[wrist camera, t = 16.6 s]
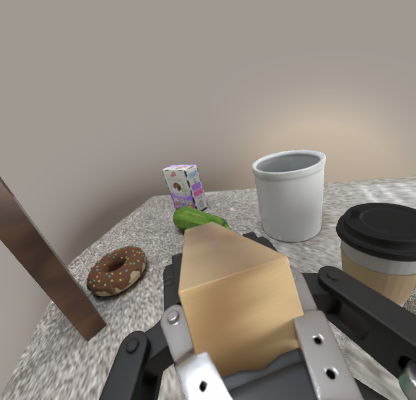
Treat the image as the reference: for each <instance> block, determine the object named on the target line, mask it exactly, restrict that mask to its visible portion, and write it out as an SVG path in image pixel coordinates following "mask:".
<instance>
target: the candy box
mask: <svg viewBox="0 0 416 400" xmlns="http://www.w3.org/2000/svg"><path fill="white" fill-rule="evenodd" d="M162 172H163V175H164V178H165V180H166V183H167V186H168V189H169V191H170V194H171V197H172V199H173V202H174V205H175V208H177V209H179V208H181V207H191V208H194V209H198V210H200V211H203V210H204V209H206V208H207V207H208V205H207V201H206V197H205V194H204V190H203V187H202V183H201V179H200V175H199V172H198V168H197V165H172V166H169V167H167V168H165V169H163V170H162Z"/></svg>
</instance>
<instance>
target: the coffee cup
mask: <svg viewBox="0 0 416 400" xmlns="http://www.w3.org/2000/svg"><path fill="white" fill-rule="evenodd" d="M336 232H337V234H338V236H339V237H340V238H341V257H342V268H343V272H345V273H347V274H348V275H350V276H352V277H353V278H355V279H357V280H358V281H360V282H362V283H363V284H365V285H367V286H368V287H370V288H372V289H373V290H375V291H376V292H378V293H380V294H381V295H383V296H385V297H386V298H388V299H390V300H391V301H393V302H395V303H396V304H398V305H400V306H401V307H403V305H404V304H405V302H406V301H407V300H408V299H409V298H410V296H411V294H412V293H413V291H414V289H415V287H416V209H413V208H410V207H406V206H402V205H397V204H389V203H366V204H360V205H356V206H354V207H351V208H350V209H348V210H347V211H346V212H345V214H344V215H343V216H341V217H340V219H339V220H338V224H337V226H336Z"/></svg>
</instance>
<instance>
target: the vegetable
mask: <svg viewBox="0 0 416 400" xmlns="http://www.w3.org/2000/svg"><path fill="white" fill-rule="evenodd" d="M173 220H174V224H175V225H176V226H177V227H178V228H179V229H181V230H184V231H185V230H186V229H189V228H193V227H196V226H199V225H203V224H206V223H210V222H214V223H216V224H219V225H221V226H223V227H225V228H227V229H229V230H231V229H230V228H229V226H228V224H227V222H226V221H225V220H224V219H222V218H220V217H217V216H214V215H211V214H208V213H205V212H203V211H200V210H198V209H194V208H191V207H181V208H179V209H177V210H176V211H175V212H174V216H173Z"/></svg>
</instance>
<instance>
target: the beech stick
mask: <svg viewBox="0 0 416 400" xmlns="http://www.w3.org/2000/svg"><path fill="white" fill-rule="evenodd" d="M178 294H179V298H180V301H181V305H182V309H183V312H184V316H185V319H186V323H187V327H188V330H189V334H190V338H191V341H192V345H193V348H194V352H195V355H198V354H200V353H202V352H205V351H207V352H208V354H209V356H210V358H211V360H212V362H213V363H214V365H215V367H216V369H217V371H218V373H219V375H220V377H221V378H223V377H225V376H228V375H230V374H233V373H235V372H238V371H246V370H262V369H264V368H265V367H266V366H268V365H269V364H270V363H271V362H272V361H273V360H274V359H276V358H277V357H278V356H279V355H281V354H283V353H286V352H288V351H291V350H293V349H296V348H299V346H298V343H297V341H296V339H295V331H294V324H293V318H296V317H299V316H302V315H304V314H303V310H302V307H301V303H300V300H299V296H298V293H297V289H296V286H295V282H294V279H293V275H292V272H291V269H290V265H289V262H288V258H287V256H285V255H283V254H281V253H279V252H277V251H275V250H272V249H270V248H268V247H266V246H264V245H262V244H259V243H257V242H255V241H253V240H251V239H249V238H247V237H244V236H242V235H240V234H238V233H236V232H234V231H232V230H229V229H227V228H225V227H223V226H221V225H219V224H216V223H214V222H210V223H206V224H203V225H199V226H196V227H193V228H189V229H186V230H185V234H184V244H183V257H182V263H181V272H180V282H179V291H178ZM205 390H206V387H205Z"/></svg>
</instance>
